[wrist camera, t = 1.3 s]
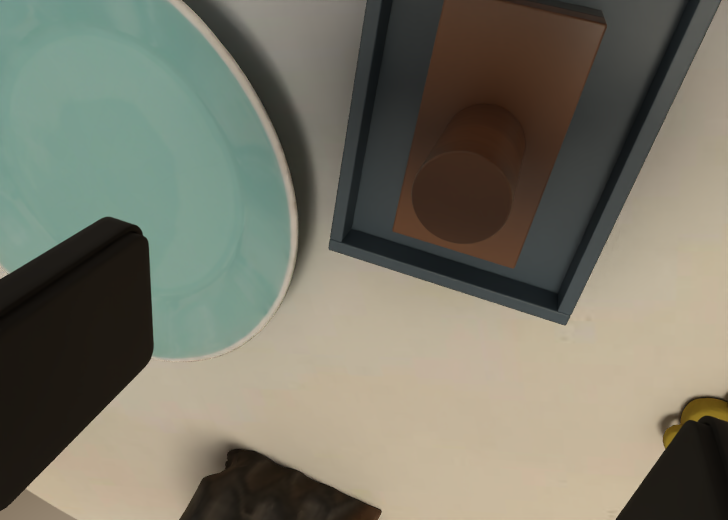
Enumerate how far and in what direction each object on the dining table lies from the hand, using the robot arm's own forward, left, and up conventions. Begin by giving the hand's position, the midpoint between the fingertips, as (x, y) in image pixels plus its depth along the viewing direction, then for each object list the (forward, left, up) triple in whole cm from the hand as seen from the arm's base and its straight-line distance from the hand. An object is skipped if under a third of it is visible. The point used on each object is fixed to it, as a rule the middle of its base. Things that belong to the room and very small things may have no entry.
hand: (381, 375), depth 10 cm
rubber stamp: (0, 0, -16) cm, 16 cm away
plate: (+8, -18, -17) cm, 26 cm away
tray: (0, 0, -16) cm, 16 cm away
